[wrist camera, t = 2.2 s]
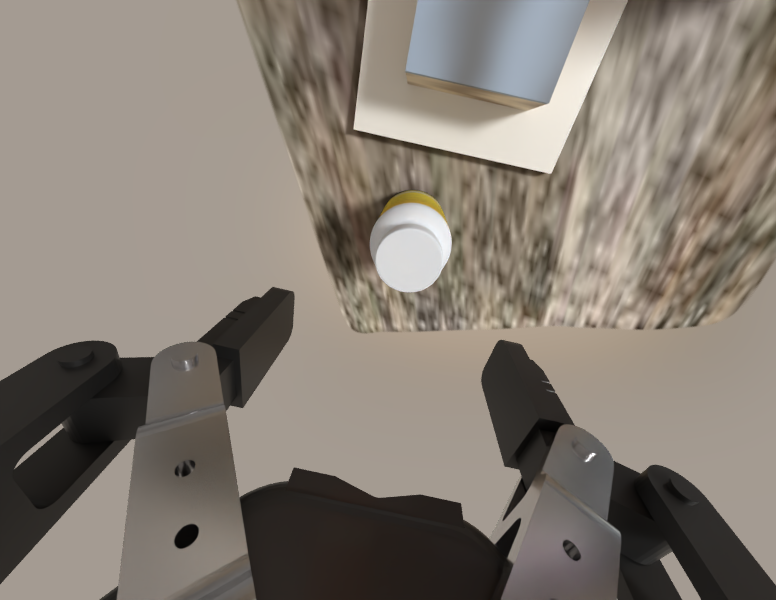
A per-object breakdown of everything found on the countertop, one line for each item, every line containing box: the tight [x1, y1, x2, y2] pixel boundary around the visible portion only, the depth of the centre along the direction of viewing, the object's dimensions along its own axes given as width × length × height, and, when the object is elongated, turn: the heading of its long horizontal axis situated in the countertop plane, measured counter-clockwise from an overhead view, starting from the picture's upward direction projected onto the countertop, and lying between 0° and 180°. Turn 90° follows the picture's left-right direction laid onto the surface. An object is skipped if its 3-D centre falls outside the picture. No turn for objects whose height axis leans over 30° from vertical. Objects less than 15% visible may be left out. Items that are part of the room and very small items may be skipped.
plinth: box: [405, 0, 590, 111], centre depth 18 cm, size 10×10×4 cm
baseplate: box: [354, 0, 628, 174], centre depth 21 cm, size 18×18×1 cm
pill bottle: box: [370, 190, 452, 292], centre depth 24 cm, size 6×6×12 cm
